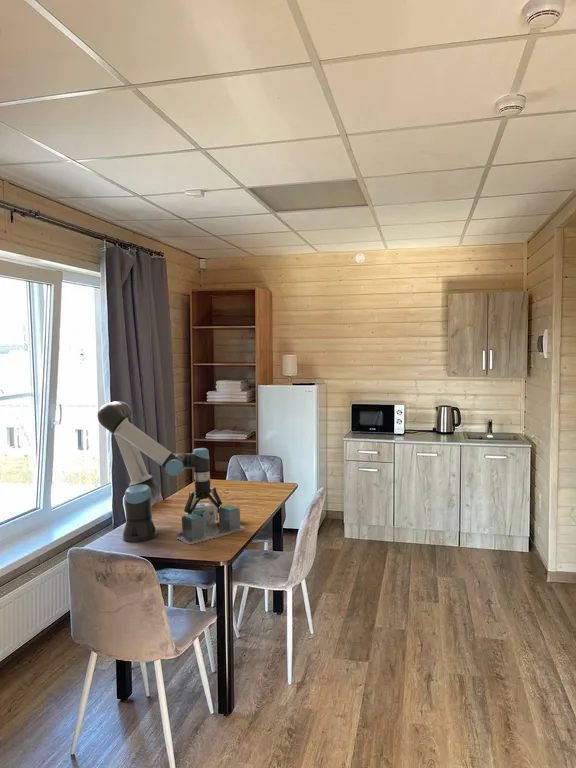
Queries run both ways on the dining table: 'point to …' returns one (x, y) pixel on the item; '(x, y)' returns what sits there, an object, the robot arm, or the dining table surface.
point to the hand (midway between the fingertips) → (204, 522)
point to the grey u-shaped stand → (210, 526)
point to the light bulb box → (206, 512)
